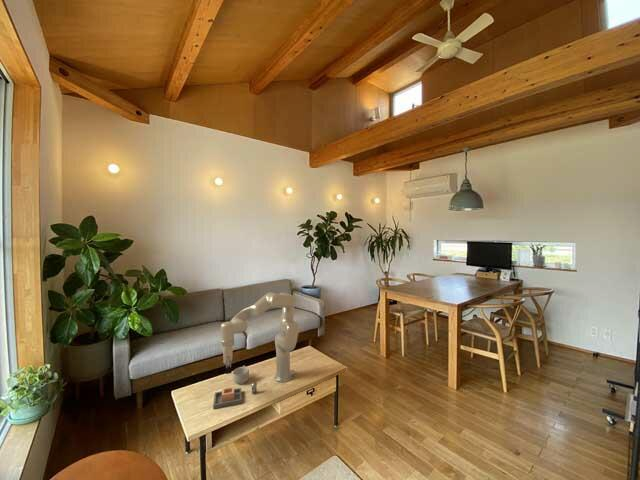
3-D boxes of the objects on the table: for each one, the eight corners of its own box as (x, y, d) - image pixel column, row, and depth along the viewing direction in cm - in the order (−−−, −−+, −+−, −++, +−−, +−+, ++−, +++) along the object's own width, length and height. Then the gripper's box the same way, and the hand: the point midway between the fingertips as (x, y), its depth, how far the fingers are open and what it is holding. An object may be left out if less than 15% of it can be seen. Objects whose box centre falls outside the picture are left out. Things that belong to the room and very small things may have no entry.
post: (256, 391, 174) (256, 381, 173) (256, 393, 171) (256, 383, 170) (251, 392, 173) (251, 382, 172) (252, 394, 170) (251, 384, 170)
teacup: (244, 386, 179) (244, 375, 178) (229, 385, 181) (229, 373, 181) (253, 375, 192) (253, 364, 192) (240, 374, 195) (239, 363, 194)
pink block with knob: (222, 396, 167) (222, 388, 167) (234, 394, 169) (233, 386, 169) (221, 403, 161) (221, 395, 161) (234, 400, 163) (233, 392, 163)
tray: (241, 391, 173) (241, 387, 173) (241, 403, 161) (241, 399, 161) (214, 396, 169) (214, 392, 169) (213, 409, 156) (213, 405, 156)
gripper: (221, 338, 172) (223, 364, 172) (220, 349, 155) (222, 378, 156) (234, 336, 174) (235, 362, 175) (234, 347, 158) (235, 375, 158)
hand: (228, 369), depth 165 cm, fingers open, 9 cm apart
